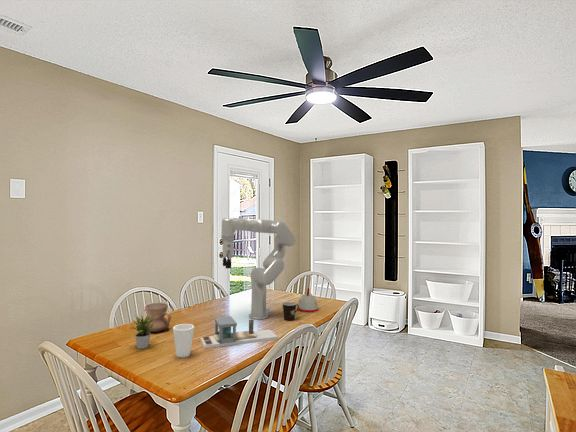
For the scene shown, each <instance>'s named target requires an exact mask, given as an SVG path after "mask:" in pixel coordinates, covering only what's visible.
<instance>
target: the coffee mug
mask: <svg viewBox="0 0 576 432" xmlns="http://www.w3.org/2000/svg"><path fill="white" fill-rule="evenodd" d="M298 308H299V305H298V304H297V303H296V302H291V301H286V302H283V303H282V310H283V320H284V321H286V322H293V321H294V320H295V318H296V317H295V315H296V312H298V311H299V310H298Z"/></svg>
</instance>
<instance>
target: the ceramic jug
mask: <svg viewBox="0 0 576 432" xmlns="http://www.w3.org/2000/svg"><path fill="white" fill-rule="evenodd" d="M168 306H169V304H168V303H167V302H163V301H162V302H161V301H159V302H149V303H147V304H145V305H144V308H143V312H145V313H146V315H147V314H148V315H150V316H149V320H148V322H149V321H150V320H151V319H152V318H154V317H155V318H156V320H155V318H154V320H153V321H152V323H150V324H151V325H152V324H153V325H154V326H153V327H154V328H155V329H153V328H149V330H148V331H147V332H150V333H157V332H162V331H164V330H166V329H167V330H168V328H169V327H170V322H171V320H172V314H171V312H169V311H167V310H168ZM166 315H167V317H168V318H166V317H165V316H166ZM156 316H158V317H156ZM154 323H155V324H154ZM147 324H148V323H147ZM147 324H146V325H147ZM151 325H149V326H151ZM149 326H148V327H149Z"/></svg>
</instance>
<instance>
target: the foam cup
mask: <svg viewBox="0 0 576 432" xmlns="http://www.w3.org/2000/svg"><path fill="white" fill-rule="evenodd" d="M194 332H195V325H193V324H192V323H191V324H190V323H181V324H176V325H174V326H173V328H172V333H173V339H174V349H175V356H176V357H177V358H187V357H189V356H190V355H191V350H192V346H193V345H192V344H193V339H194Z"/></svg>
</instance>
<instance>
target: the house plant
mask: <svg viewBox="0 0 576 432" xmlns="http://www.w3.org/2000/svg"><path fill="white" fill-rule="evenodd" d="M140 316H141V318H139V317H138V316H137V315H136V314H135V318H136V320H133V319H130V320H131V321H132V322H133V323H134V324H135V325H136V326H135V327H134V326H131V327H130V328H128V329H129V330H136V331H137V333H135V335H134V338H135V342H136V348H137V349H138V350H143V349H147V348H149V345H150V340H151V339H150V338H151V333H152V332H148V330H149V328H153V329H155V328H154V327H153V326H154V325H153V324H152V325H151V324H150V323H152V321H153V320H154V318H155V317H154V318H152V319H151V320H150V321H149V322H148V320H149V316H150V315H148V314H146V317H145V318H144V317H143V314H142V313H140ZM156 317H158V316H156ZM155 320H156V318H155ZM147 323H148V324H147ZM146 324H147V325H146ZM154 324H155V323H154ZM149 325H151V326H149ZM148 326H149V327H148Z"/></svg>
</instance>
